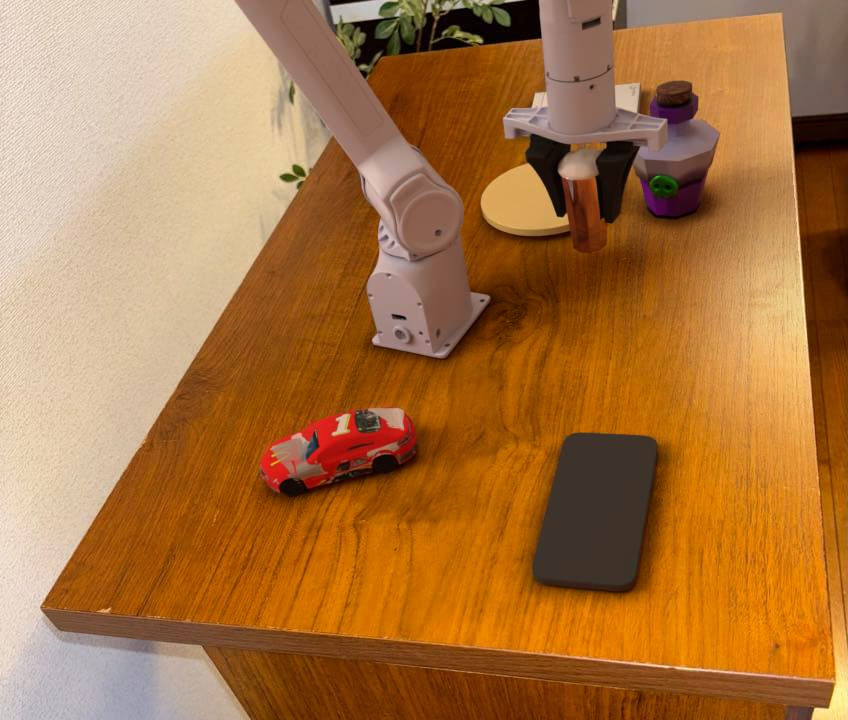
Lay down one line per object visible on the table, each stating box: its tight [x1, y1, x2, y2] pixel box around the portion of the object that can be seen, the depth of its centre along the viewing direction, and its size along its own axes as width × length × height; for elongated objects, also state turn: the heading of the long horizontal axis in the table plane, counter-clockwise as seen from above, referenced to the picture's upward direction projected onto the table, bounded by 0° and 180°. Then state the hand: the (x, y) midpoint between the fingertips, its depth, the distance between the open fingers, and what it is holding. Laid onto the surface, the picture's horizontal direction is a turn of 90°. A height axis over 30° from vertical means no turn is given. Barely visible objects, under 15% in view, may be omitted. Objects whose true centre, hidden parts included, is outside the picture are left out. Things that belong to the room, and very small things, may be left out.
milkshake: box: [558, 144, 608, 254], centre depth 90 cm, size 5×5×10 cm
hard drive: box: [531, 82, 642, 114], centre depth 114 cm, size 2×8×12 cm
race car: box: [259, 406, 419, 497], centre depth 80 cm, size 13×5×4 cm, turn 98°
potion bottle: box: [632, 79, 721, 220], centre depth 94 cm, size 9×9×12 cm
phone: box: [531, 431, 659, 592], centre depth 73 cm, size 7×1×15 cm
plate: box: [480, 162, 570, 237], centre depth 103 cm, size 14×14×1 cm
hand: (588, 214), depth 91 cm, fingers closed on milkshake, 4 cm apart
